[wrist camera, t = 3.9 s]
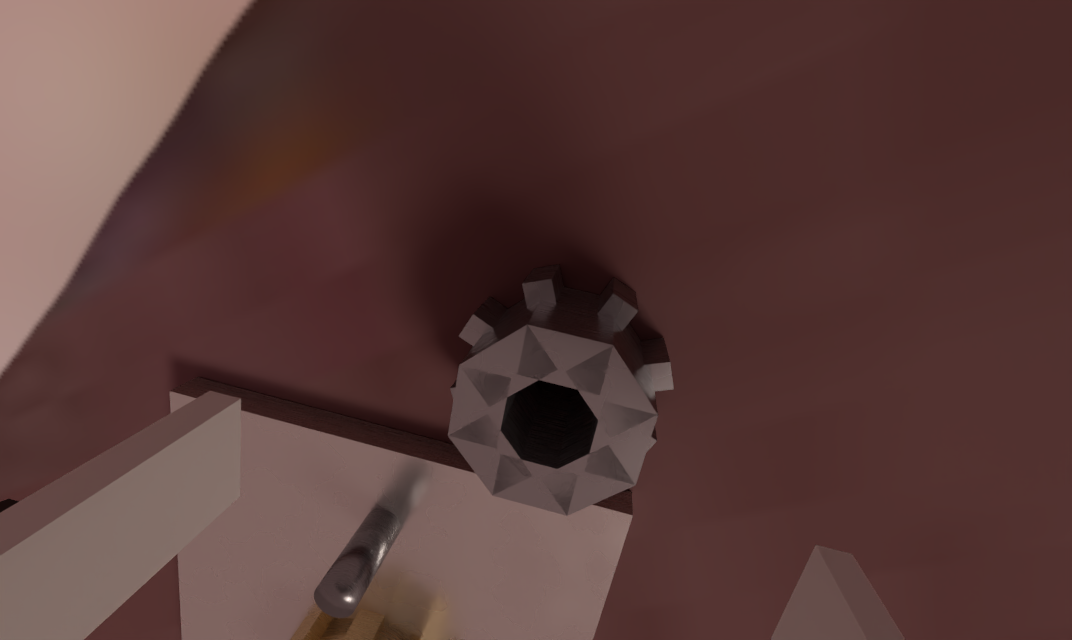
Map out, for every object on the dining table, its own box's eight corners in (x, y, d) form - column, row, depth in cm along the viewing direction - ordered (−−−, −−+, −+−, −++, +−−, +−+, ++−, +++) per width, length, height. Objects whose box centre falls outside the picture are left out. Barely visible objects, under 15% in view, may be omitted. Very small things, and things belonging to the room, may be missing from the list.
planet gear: (488, 247, 19) (445, 277, 14) (688, 294, 18) (712, 341, 14) (458, 421, 21) (414, 494, 17) (634, 466, 21) (639, 556, 16)
